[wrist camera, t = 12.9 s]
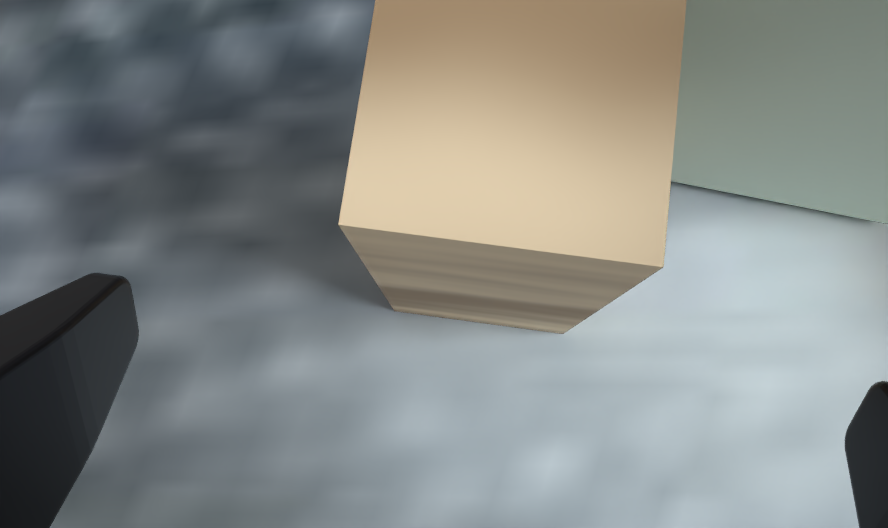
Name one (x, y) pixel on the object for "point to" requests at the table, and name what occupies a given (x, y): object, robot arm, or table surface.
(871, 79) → the door
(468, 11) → the block
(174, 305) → the table surface
